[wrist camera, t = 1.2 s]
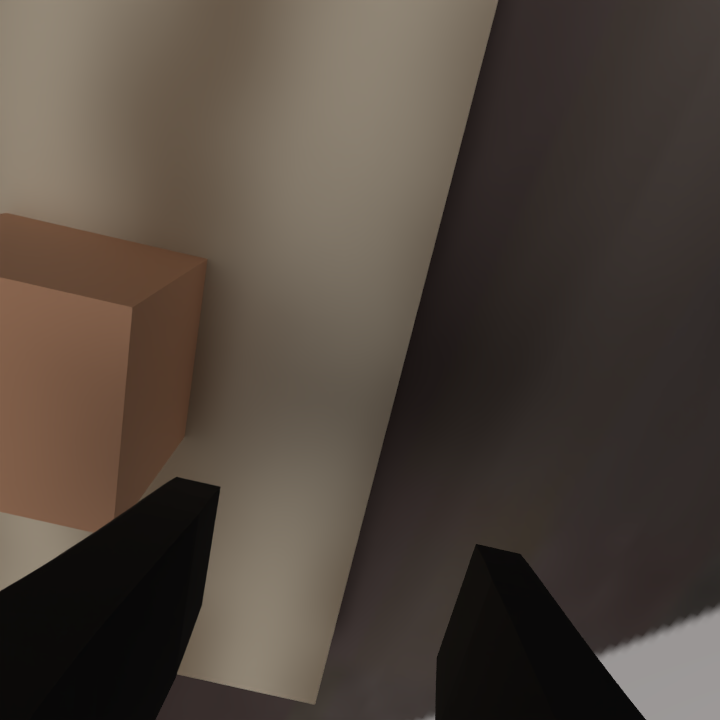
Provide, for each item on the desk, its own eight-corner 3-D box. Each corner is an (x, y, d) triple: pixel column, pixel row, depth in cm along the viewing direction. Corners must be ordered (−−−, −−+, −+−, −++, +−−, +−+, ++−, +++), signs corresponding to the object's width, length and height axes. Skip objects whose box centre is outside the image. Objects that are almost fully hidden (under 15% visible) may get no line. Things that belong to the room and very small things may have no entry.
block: (207, 258, 14) (132, 307, 10) (184, 436, 15) (112, 537, 11) (6, 212, 14) (-147, 243, 10) (4, 396, 15) (-128, 483, 11)
